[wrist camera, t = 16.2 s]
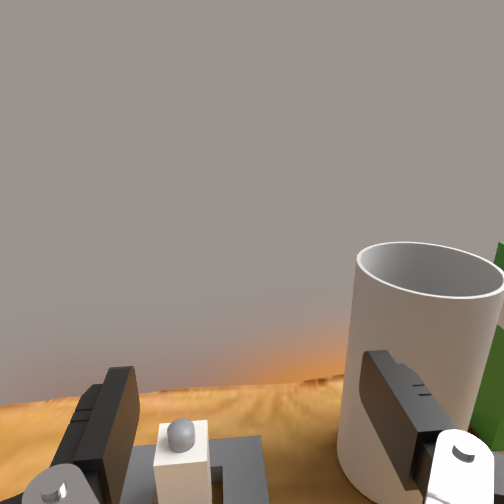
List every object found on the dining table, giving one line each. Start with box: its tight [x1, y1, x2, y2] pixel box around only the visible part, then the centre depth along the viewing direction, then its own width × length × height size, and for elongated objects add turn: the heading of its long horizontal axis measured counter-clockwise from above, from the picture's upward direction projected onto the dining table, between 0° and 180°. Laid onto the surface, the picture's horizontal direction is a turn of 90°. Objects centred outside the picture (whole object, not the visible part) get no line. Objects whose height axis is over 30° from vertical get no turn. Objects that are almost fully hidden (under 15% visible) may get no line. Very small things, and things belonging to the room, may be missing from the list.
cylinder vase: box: [337, 242, 504, 504], centre depth 39 cm, size 12×12×25 cm
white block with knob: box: [153, 418, 212, 504], centre depth 35 cm, size 4×4×12 cm
